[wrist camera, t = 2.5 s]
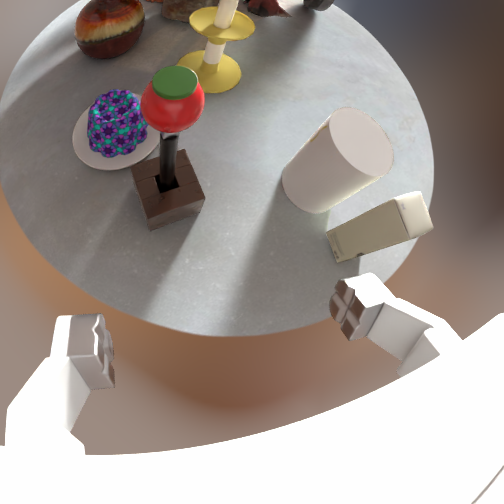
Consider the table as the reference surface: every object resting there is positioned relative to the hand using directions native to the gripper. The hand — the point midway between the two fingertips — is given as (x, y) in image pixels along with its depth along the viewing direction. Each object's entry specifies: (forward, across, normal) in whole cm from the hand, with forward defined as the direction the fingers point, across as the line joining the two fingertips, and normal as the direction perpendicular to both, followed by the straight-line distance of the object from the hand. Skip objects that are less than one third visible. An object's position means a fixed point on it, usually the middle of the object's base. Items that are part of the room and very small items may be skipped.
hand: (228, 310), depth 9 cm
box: (+19, -21, +12) cm, 31 cm away
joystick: (+24, +1, +6) cm, 25 cm away
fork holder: (+24, +1, +6) cm, 25 cm away
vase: (+44, +10, -14) cm, 47 cm away
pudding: (+31, +7, 0) cm, 32 cm away
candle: (+39, -6, -8) cm, 40 cm away
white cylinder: (+25, -18, +6) cm, 31 cm away
